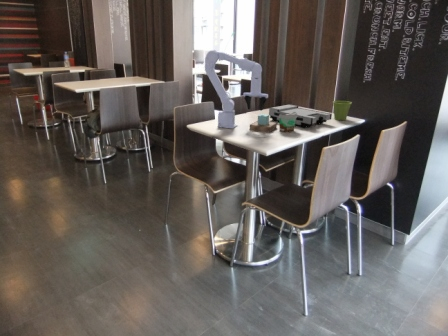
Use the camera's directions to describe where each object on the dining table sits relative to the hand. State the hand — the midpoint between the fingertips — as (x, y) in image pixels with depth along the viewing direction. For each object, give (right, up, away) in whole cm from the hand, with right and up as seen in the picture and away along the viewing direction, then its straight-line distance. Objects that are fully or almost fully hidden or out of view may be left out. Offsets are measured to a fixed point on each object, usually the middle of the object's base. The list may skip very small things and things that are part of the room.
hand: (255, 109), depth 198 cm
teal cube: (+5, -8, -1) cm, 10 cm away
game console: (+29, -6, +16) cm, 34 cm away
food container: (+19, -13, -4) cm, 23 cm away
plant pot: (+58, -2, +25) cm, 63 cm away
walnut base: (+5, -11, 0) cm, 12 cm away
